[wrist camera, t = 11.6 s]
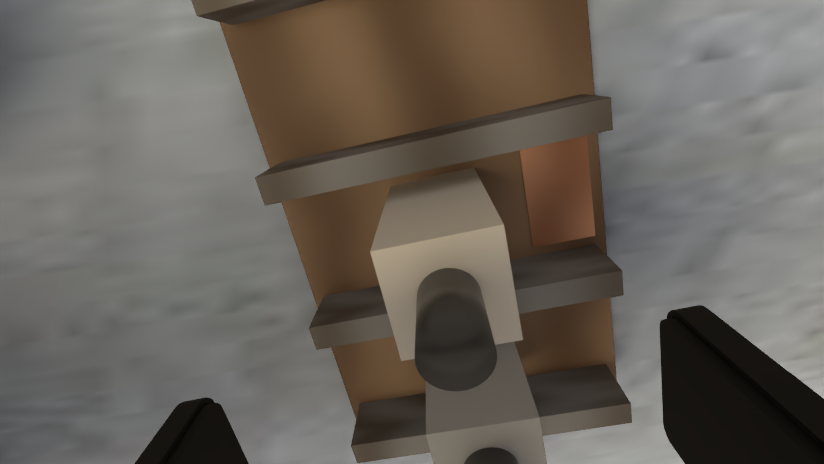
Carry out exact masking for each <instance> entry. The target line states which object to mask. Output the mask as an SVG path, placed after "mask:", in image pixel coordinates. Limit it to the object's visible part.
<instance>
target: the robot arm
mask: <svg viewBox="0 0 824 464" xmlns="http://www.w3.org/2000/svg"><path fill="white" fill-rule="evenodd" d="M660 345H661V373H662V400H663V424H664V429H665V432H666V435H667V437H668V439H669V441H670V443H671V444H672V446H673V447H674V448H675V450H676V451H677V453H678V454H679V456H680V457H681V458H682V460H683V461H684V463H685V464H824V399H823V398H822V397H821V396H819V395H818V394H817V393H815V392H814V391H813V390H812V389H810V388H809V387H808V386H806V385H805V384H804V383H803V382H801V381H800V380H799V379H797V378H796V377H795V376H794V375H792V374H791V373H790V372H788V371H787V370H785V369H784V368H783V367H782V366H780V365H779V364H778V363H776V362H775V361H774V360H773V359H771V358H770V357H769V356H767V355H766V354H765V353H764V352H762V351H761V350H760V349H759V348H757V347H756V346H755V345H753V344H752V343H751V342H750V341H748V340H747V339H746V338H744V337H743V336H742V335H741V334H739V333H738V332H737V331H736V330H734V329H733V328H732V327H730V326H729V325H728V324H727V323H725V322H724V321H723V320H721V319H720V318H719V317H718V316H716V315H715V314H714V313H712V312H711V311H710V310H709V309H707V308H706V307H704V306H700V305H698V306H693V307H688V308H682V309H677V310H672V311H670V312H669V313H668V315H667V319H664V320H662V321H661V322H660ZM135 464H248V461H247V459H246V457H245V455H244V453H243V451H242V449H241V446H240V444H239V442H238V440H237V438H236V436H235V434H234V432H233V429H232V427H231V425H230V423H229V421H228V419H227V417H226V414H225V412H224V410H223V408H222V406H221V405H220V404H219V403H214V401H213V400H212V399H210V398H202V399H196V400H191V401H186V402H182V403H180V404H179V405H178V406H177V407H176V408H175V409H174V410H173V412H172V413H171V415H170V416H169V417H168V419H167V420H166V421H165V423H164V424H163V426H162V427H161V428H160V430H159V431H158V432H157V434H156V435H155V436H154V438H153V439H152V441H151V442H150V443H149V445H148V446H147V447H146V449H145V450H144V452H143V453H142V454H141V456H140V457H139V458H138V460H137V461H136V462H135Z"/></svg>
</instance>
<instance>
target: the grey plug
mask: <svg viewBox="0 0 824 464" xmlns="http://www.w3.org/2000/svg"><path fill="white" fill-rule="evenodd" d="M495 346H496V350H497V363H496V366H495V369H494V371H493V373H492V374H491V375H490V377H489V378H488V379H487V380H486V381H484V382H483V383H482V384H480V385H479V386H477V387H474V388H472V389H469V390H465V391H446V390H442V389H439V388H436V387H434V386H432V385H431V384H429V383H428V382H427V381H426V437H427V441H428V445H429V448H430V452H431V455H432V459H433V463H434V464H547V462H546V455H545V449H544V443H543V436H542V430H541V424H540V417H539V414H538V411H537V408H536V405H535V402H534V399H533V396H532V393H531V390H530V387H529V384H528V381H527V378H526V375H525V372H524V369H523V366H522V363H521V360H520V357H519V354H518V351H517V348H516V345H515V342H509V343H503V344H497V345H495Z"/></svg>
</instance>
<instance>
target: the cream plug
mask: <svg viewBox="0 0 824 464" xmlns="http://www.w3.org/2000/svg"><path fill="white" fill-rule="evenodd" d="M370 253H371V257H372V260H373V264H374V267H375V271H376V274H377V278H378V281H379V285H380V288H381V292H382V295H383V299H384V302H385V306H386V309H387V313H388V316H389V320H390V323H391V327H392V330H393V334H394V337H395V341H396V344H397V348H398V351H399V355H400V358H401V361H405V360H411V359H415V365H416V368H417V370H418V372H419V374H420V375H421V376H422V378H423V379H424V380H425V381H427V382H428V383H429V384H431V385H432V386H434V387H436V388H439V389H442V390H446V391H465V390H469V389H472V388H474V387H477V386H479V385H480V384H482V383H483V382H484V381H486V380H487V379H488V378H489V377H490V375H491V374H492V373H493V371H494V369H495V366H496V363H497V350H496V346H495V345H497V344H503V343H509V342H514V341H520V340H523V337H522V330H521V324H520V318H519V312H518V306H517V300H516V294H515V288H514V282H513V276H512V270H511V264H510V258H509V252H508V246H507V240H506V234H505V228H504V224H503V222H502V220H501V218H500V216H499V214H498V212H497V210H496V208H495V207H494V205H493V203H492V201H491V199H490V197H489V195H488V193H487V191H486V189H485V188H484V186H483V184H482V182H481V180H480V178H479V176H478V174H477V172H476V170H475V169H474V168H470V169H465V170H461V171H456V172H452V173H447V174H443V175H438V176H433V177H429V178H424V179H420V180H415V181H411V182H406V183H402V184H397V185H392V186H390V189H389V193H388V196H387V199H386V202H385V205H384V209H383V212H382V215H381V218H380V221H379V224H378V228H377V231H376V234H375V237H374V240H373V244H372V247H371V250H370Z"/></svg>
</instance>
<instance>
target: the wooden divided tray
mask: <svg viewBox="0 0 824 464" xmlns="http://www.w3.org/2000/svg"><path fill="white" fill-rule="evenodd" d="M191 1H192V3H193V6H194V9H195V12H196V15H197V16H199V17H203V18H207V19H211V20H215V21H218V22H220V24H221V27H222V30H223V33H224V36H225V39H226V42H227V45H228V48H229V51H230V54H231V56H232V59H233V62H234V65H235V68H236V71H237V74H238V77H239V80H240V83H241V86H242V88H243V91H244V94H245V97H246V100H247V103H248V106H249V109H250V112H251V115H252V118H253V120H254V123H255V126H256V129H257V132H258V135H259V138H260V141H261V144H262V147H263V149H264V152H265V155H266V158H267V161H268V164H269V167H270V169H268V170H267V171H265V172H264V173H262V174H260V175H259V176H257V177H255V179H256V182H257V185H258V187H259V190H260V193H261V196H262V199H263V201H264V204H265V205H270V204H275V203H279V202H282V205H283V208H284V211H285V213H286V216H287V219H288V222H289V225H290V228H291V231H292V234H293V237H294V240H295V243H296V245H297V248H298V251H299V254H300V257H301V260H302V263H303V266H304V269H305V272H306V275H307V277H308V280H309V283H310V286H311V289H312V292H313V295H314V298H315V301H316V304H317V307H318V310H317V312H316V314H315V316H314V318H313V321H312V323H311V325H310V327H309V330H310V332H311V335H312V338H313V341H314V344H315V346H316V349H317V350H318V349H324V348H329V347H332V350H333V353H334V356H335V359H336V362H337V365H338V368H339V370H340V373H341V376H342V379H343V382H344V385H345V388H346V391H347V394H348V397H349V400H350V402H351V405H352V408H353V411H354V414H355V417H356V424H355V429H354V434H353V439H352V444H351V447H352V450H353V452H354V455H355V458H356V461H357V463H361V462H368V461H375V460H381V459H388V458H395V457H402V456H408V455H415V454H422V453H429V452H430V448H429V445H428V441H427V437H426V381H425V380H424V379H423V378H422V376H421V375H420V374H419V372H418V370H417V368H416V365H415V359H411V360H405V361H401V358H400V355H399V351H398V348H397V344H396V341H395V337H394V334H393V330H392V327H391V323H390V320H389V316H388V313H387V309H386V306H385V302H384V299H383V295H382V292H381V288H380V285H379V281H378V278H377V274H376V271H375V267H374V264H373V260H372V257H371V253H370V250H371V247H372V244H373V240H374V237H375V234H376V231H377V228H378V224H379V221H380V218H381V215H382V212H383V209H384V205H385V202H386V199H387V196H388V193H389V189H390V186H392V185H397V184H402V183H406V182H411V181H415V180H420V179H424V178H429V177H433V176H438V175H443V174H447V173H452V172H456V171H461V170H465V169H470V168H474V169H475V170H476V172H477V174H478V176H479V178H480V180H481V182H482V184H483V186H484V188H485V189H486V191H487V193H488V195H489V197H490V199H491V201H492V203H493V205H494V207H495V208H496V210H497V212H498V214H499V216H500V218H501V220H502V222H503V224H504V228H505V234H506V240H507V246H508V252H509V258H510V264H511V270H512V276H513V282H514V288H515V294H516V300H517V306H518V312H519V318H520V324H521V330H522V337H523V340H520V341H514V342H515V345H516V348H517V351H518V354H519V357H520V360H521V363H522V366H523V369H524V372H525V375H526V378H527V381H528V384H529V387H530V390H531V393H532V396H533V399H534V402H535V405H536V408H537V411H538V414H539V417H540V424H541V430H542V436H544V435H551V434H558V433H564V432H571V431H578V430H585V429H591V428H598V427H605V426H612V425H619V424H625V423H632V417H631V403H630V402H629V400H628V398H627V397H626V395H625V394H624V392H623V390H622V389H621V387H620V386H619V384H618V382H617V379H616V366H615V354H614V341H613V328H612V315H611V302H610V297H616V296H621V295H623V279H622V270H621V269H620V268H619V267H618V266H617V265H616V264H615V263H614V262H613V261H612V260H611V259H610V258H609V257H608V256H607V250H606V238H605V225H604V212H603V199H602V186H601V173H600V160H599V147H598V134H597V133H600V132H605V131H610V130H613V126H612V111H611V97H603V96H595V95H594V83H593V70H592V57H591V44H590V31H589V18H588V5H587V0H191Z"/></svg>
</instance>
